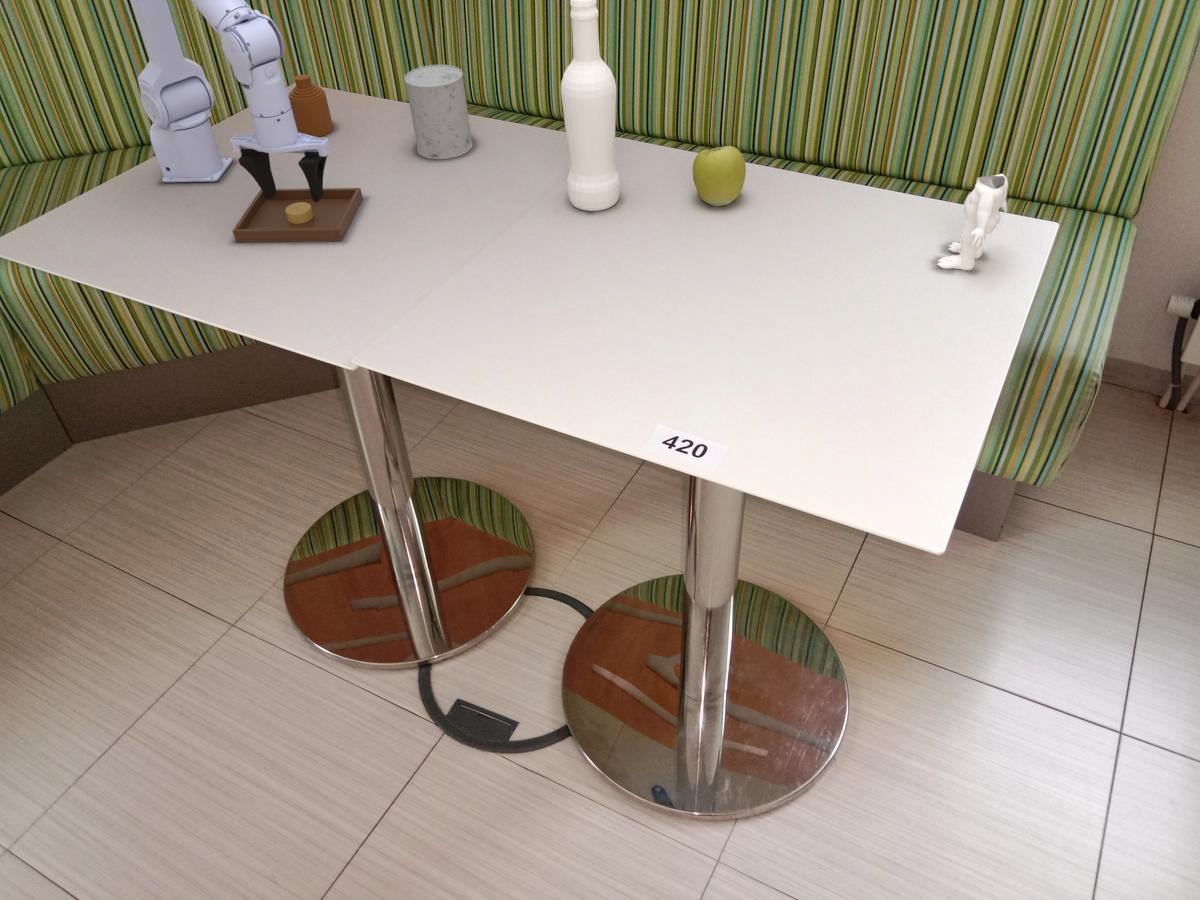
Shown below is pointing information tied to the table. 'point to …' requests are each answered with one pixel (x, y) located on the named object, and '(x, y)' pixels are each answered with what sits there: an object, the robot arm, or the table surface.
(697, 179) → the apple
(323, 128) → the amber bottle
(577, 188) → the bottle
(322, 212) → the tray
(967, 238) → the toy creature
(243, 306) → the table surface
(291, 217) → the cap
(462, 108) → the gray speckled cylinder
